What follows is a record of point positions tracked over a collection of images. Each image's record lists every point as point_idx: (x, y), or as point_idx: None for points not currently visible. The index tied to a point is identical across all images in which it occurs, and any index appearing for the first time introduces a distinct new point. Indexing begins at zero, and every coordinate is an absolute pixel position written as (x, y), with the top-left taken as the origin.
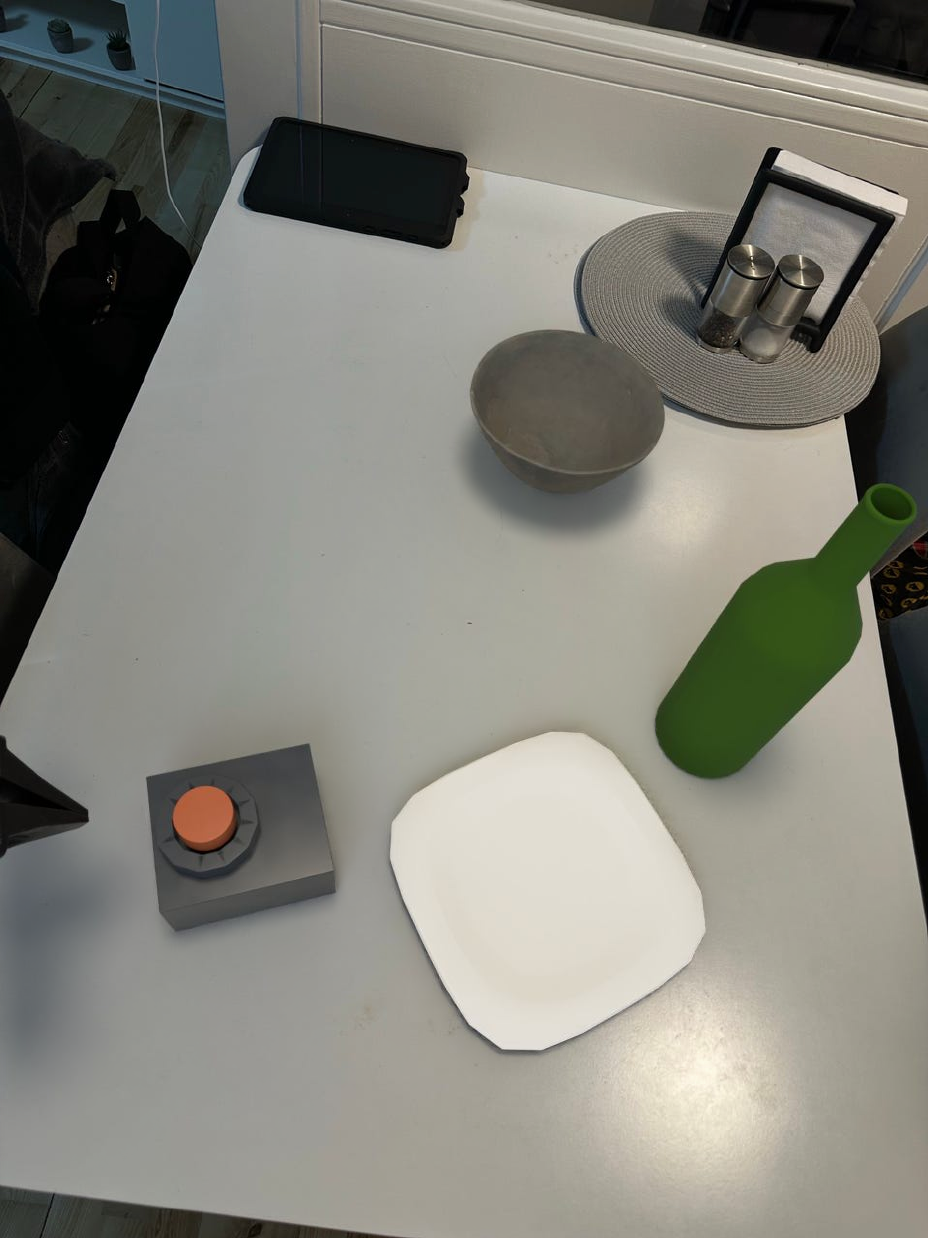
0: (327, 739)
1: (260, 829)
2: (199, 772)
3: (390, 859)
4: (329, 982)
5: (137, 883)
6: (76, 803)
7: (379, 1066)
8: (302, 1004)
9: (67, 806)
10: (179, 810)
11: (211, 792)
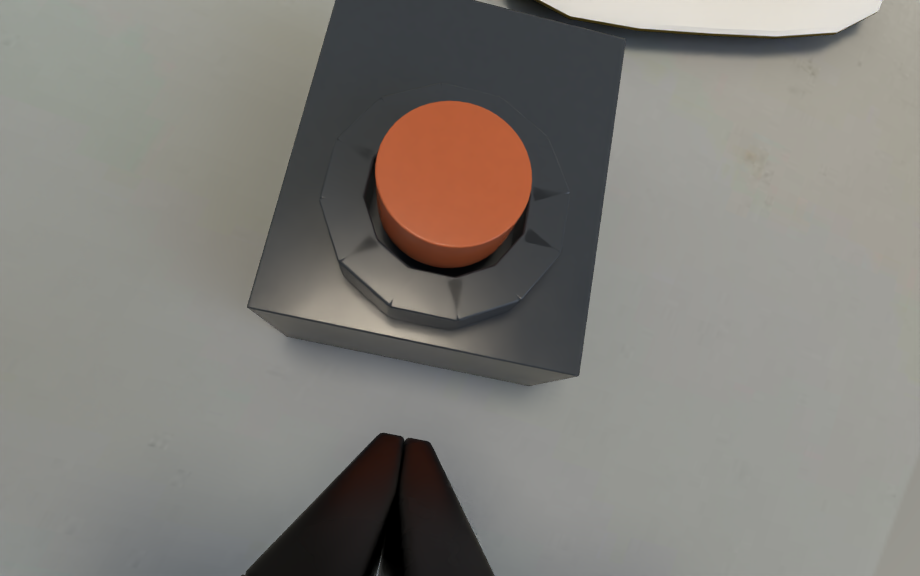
0: (306, 27)
1: None
2: (298, 191)
3: (572, 15)
4: (696, 190)
5: (415, 424)
6: (360, 464)
7: (825, 175)
8: (712, 238)
9: (381, 504)
10: (420, 221)
11: (406, 133)
